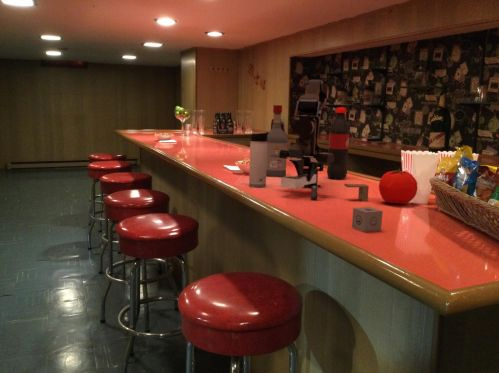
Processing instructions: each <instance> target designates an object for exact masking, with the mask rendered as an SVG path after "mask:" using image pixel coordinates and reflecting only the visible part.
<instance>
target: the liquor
mask: <svg viewBox="0 0 499 373" xmlns="http://www.w3.org/2000/svg"><path fill="white" fill-rule="evenodd" d="M272 107H273V108H272V112H273V124H272V128H271V129H270V130H269V131H268V132H269V134H268V135H267V137H268V139H267V141H268V143H267V170H266V177H269V178H271V177H273V178H281V177H286V175H287V158H288V157H287V158H286V159H285V158H279V152H280V151H281V150H285V149H288V137H287V135H286V133H285V132H284V130H283V129H282V125H281V124H282V122H281V121H282V120H281V119H282V113H283V105H280V104H279V105H276V104H273V106H272Z"/></svg>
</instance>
